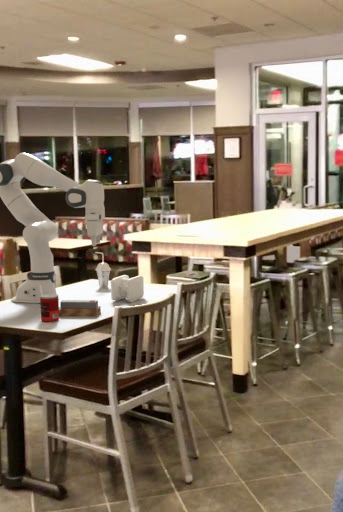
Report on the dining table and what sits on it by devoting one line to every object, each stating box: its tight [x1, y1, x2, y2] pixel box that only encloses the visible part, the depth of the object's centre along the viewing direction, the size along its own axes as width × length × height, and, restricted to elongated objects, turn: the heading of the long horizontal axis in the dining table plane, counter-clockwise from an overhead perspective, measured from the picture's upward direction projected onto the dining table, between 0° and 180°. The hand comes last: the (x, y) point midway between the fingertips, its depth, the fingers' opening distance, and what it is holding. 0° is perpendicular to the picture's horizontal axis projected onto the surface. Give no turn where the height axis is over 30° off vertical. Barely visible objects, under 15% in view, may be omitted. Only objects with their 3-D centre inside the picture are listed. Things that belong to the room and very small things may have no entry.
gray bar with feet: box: [59, 299, 99, 309], centre depth 305 cm, size 16×4×6 cm, turn 85°
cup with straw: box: [94, 251, 112, 289], centre depth 369 cm, size 8×9×20 cm
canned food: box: [39, 293, 60, 323], centre depth 294 cm, size 8×8×11 cm
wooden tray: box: [59, 305, 102, 318], centre depth 305 cm, size 18×8×3 cm, turn 85°
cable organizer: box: [110, 274, 145, 303], centre depth 336 cm, size 15×11×12 cm
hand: (96, 244), depth 319 cm, fingers open, 8 cm apart
